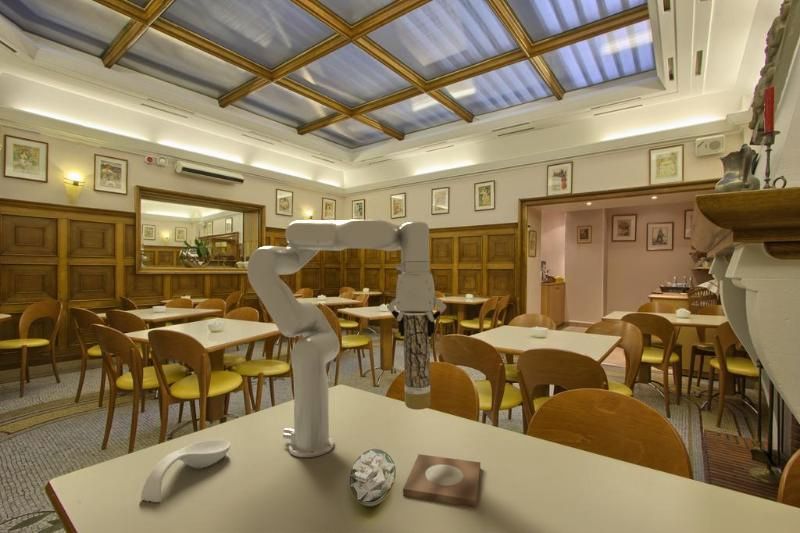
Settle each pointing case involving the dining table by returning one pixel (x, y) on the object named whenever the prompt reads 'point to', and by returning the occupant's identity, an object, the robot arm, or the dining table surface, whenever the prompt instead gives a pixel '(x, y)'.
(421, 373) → the bark print can
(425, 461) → the board
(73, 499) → the dining table surface
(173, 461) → the spoon rest
